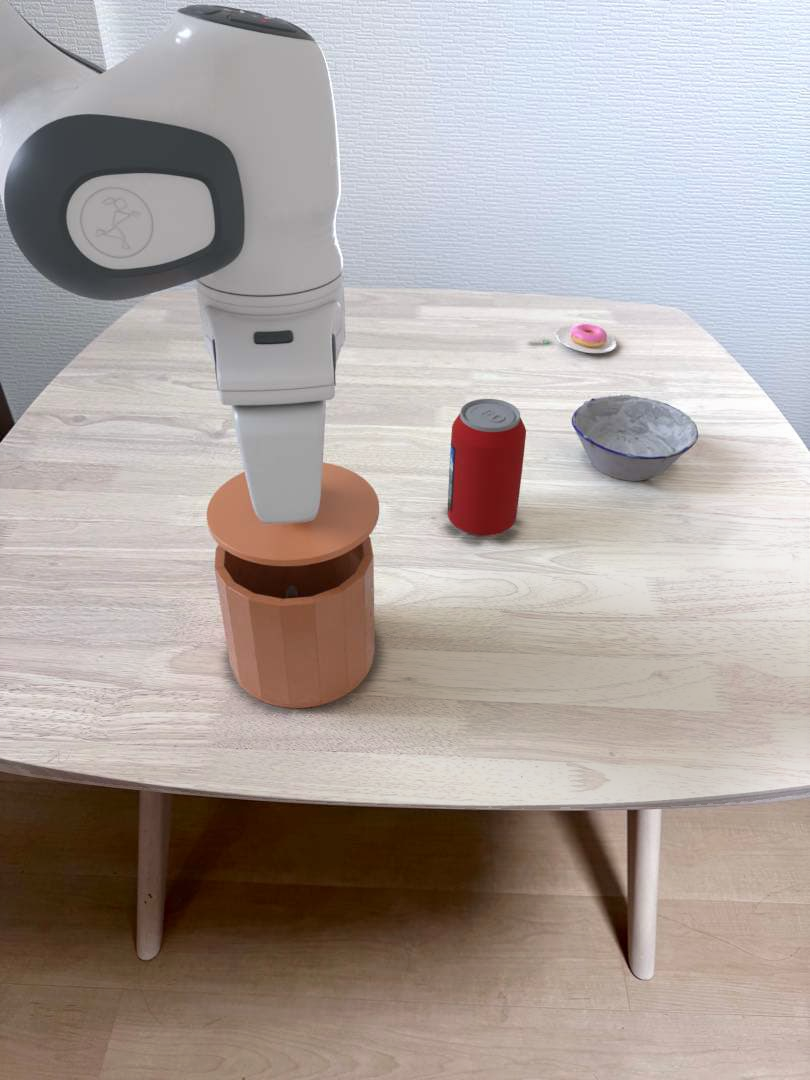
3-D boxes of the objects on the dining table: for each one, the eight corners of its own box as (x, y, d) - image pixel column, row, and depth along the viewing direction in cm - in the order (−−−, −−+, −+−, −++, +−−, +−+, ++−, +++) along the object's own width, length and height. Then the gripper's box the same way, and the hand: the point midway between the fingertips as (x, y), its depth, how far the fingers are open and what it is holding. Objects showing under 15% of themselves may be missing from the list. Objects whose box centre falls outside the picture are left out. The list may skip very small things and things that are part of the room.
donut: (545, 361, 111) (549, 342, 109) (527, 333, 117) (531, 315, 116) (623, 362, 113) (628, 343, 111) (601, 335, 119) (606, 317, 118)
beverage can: (478, 493, 87) (486, 387, 79) (530, 521, 83) (543, 413, 75) (432, 520, 83) (436, 411, 75) (484, 551, 79) (494, 440, 72)
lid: (204, 580, 56) (194, 523, 54) (212, 478, 66) (204, 425, 63) (388, 566, 58) (388, 510, 55) (370, 468, 68) (369, 416, 65)
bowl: (549, 472, 90) (555, 433, 87) (589, 420, 99) (595, 383, 96) (670, 508, 85) (681, 467, 82) (701, 449, 94) (711, 411, 91)
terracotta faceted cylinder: (229, 715, 63) (211, 611, 57) (233, 612, 72) (217, 512, 66) (381, 700, 64) (380, 597, 58) (366, 601, 73) (364, 502, 67)
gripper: (226, 258, 60) (246, 428, 69) (215, 394, 44) (242, 594, 53) (315, 255, 61) (324, 423, 69) (336, 388, 45) (344, 586, 53)
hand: (289, 498), depth 61 cm, fingers closed on lid, 2 cm apart
